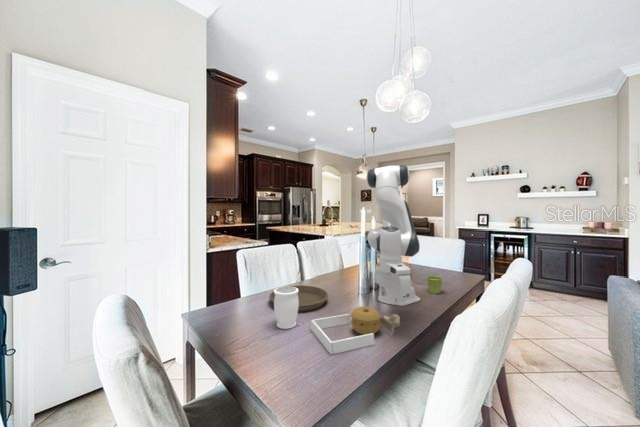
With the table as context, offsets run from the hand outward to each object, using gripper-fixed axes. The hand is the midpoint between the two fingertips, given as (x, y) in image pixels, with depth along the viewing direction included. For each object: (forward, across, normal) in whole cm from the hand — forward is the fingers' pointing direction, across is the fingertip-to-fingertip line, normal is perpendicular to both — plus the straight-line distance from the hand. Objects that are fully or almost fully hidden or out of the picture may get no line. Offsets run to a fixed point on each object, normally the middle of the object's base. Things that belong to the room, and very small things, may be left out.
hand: (390, 299), depth 109 cm
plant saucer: (+11, -43, -27) cm, 52 cm away
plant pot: (+11, -28, +52) cm, 60 cm away
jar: (+12, -19, -40) cm, 45 cm away
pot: (+12, -1, -12) cm, 17 cm away
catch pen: (+12, -1, -22) cm, 26 cm away
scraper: (+12, -1, 0) cm, 12 cm away
